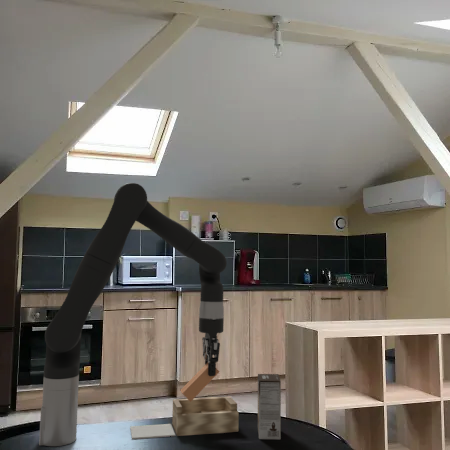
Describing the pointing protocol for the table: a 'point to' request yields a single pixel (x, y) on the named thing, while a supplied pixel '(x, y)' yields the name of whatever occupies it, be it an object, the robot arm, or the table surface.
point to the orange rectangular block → (197, 383)
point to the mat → (151, 431)
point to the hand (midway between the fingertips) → (210, 373)
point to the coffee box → (269, 406)
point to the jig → (205, 416)
